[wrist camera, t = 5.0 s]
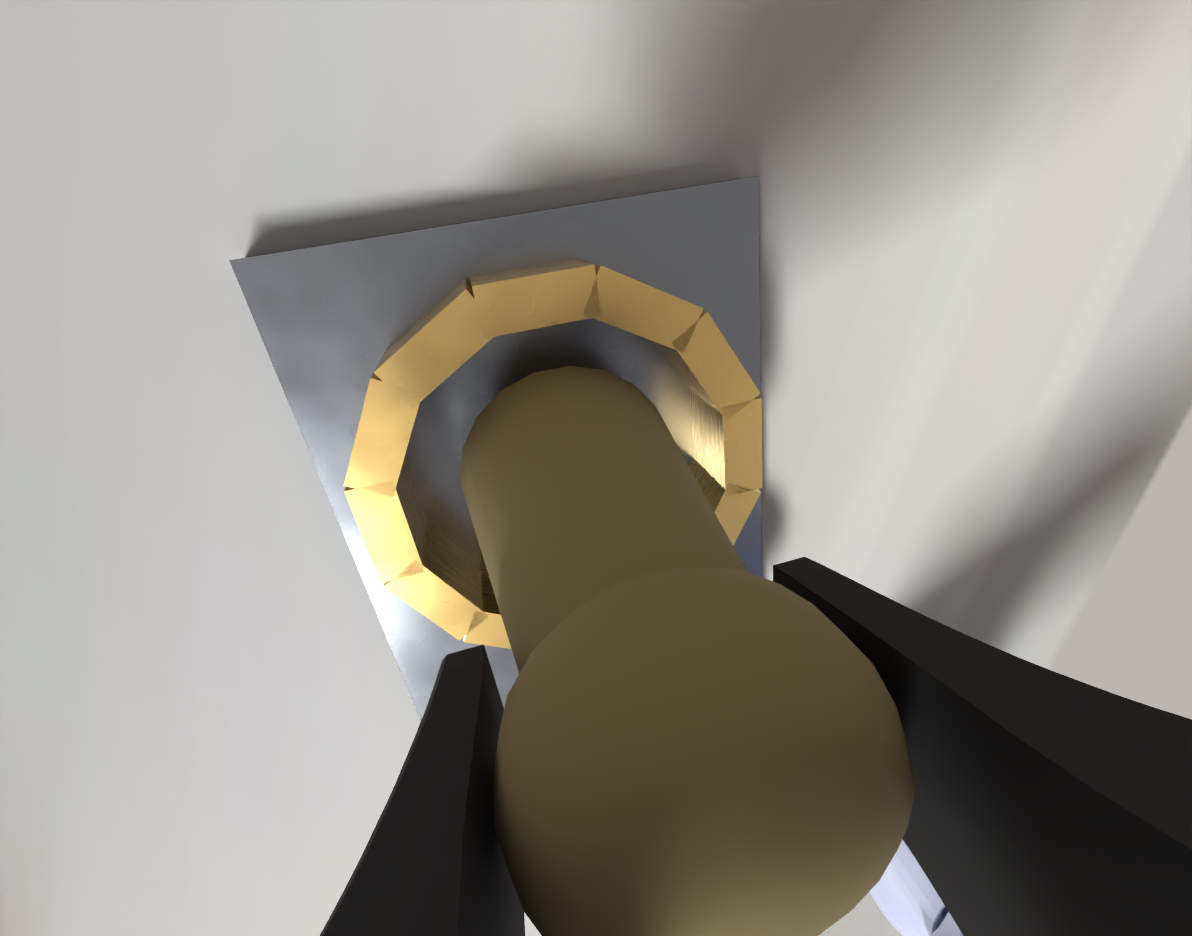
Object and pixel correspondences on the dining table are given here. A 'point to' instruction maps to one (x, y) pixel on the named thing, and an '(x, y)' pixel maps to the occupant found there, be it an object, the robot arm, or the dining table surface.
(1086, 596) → the dining table surface
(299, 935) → the dining table surface
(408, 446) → the flanged metal plate
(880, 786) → the cork
